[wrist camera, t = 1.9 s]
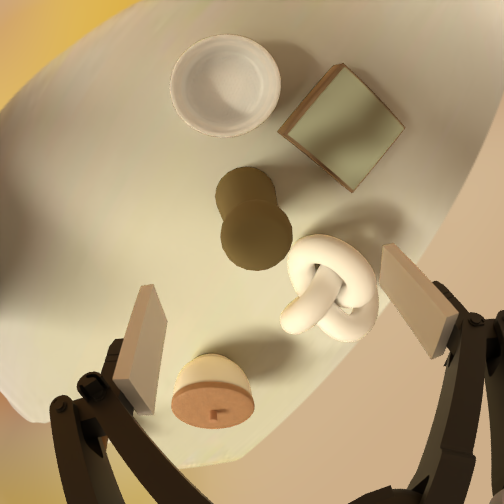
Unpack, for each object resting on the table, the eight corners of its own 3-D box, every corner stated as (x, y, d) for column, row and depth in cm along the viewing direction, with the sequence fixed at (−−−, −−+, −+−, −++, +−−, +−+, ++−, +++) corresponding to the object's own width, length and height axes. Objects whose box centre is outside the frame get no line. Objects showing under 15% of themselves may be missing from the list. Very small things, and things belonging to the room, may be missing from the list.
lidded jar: (239, 335, 39) (246, 392, 31) (254, 381, 44) (262, 432, 36) (163, 348, 39) (156, 404, 31) (189, 392, 44) (188, 442, 36)
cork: (262, 230, 32) (283, 291, 23) (207, 214, 31) (204, 272, 21) (284, 178, 30) (317, 220, 20) (226, 158, 28) (231, 192, 19)
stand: (277, 131, 27) (283, 135, 25) (333, 65, 24) (345, 62, 22) (342, 185, 31) (353, 194, 28) (392, 124, 28) (407, 128, 25)
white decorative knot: (259, 231, 32) (273, 277, 24) (363, 209, 32) (404, 245, 24) (275, 311, 38) (289, 365, 30) (364, 289, 38) (394, 334, 30)
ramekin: (226, 150, 28) (228, 159, 24) (157, 93, 24) (147, 92, 21) (291, 86, 25) (303, 84, 22) (223, 26, 22) (223, 14, 18)
